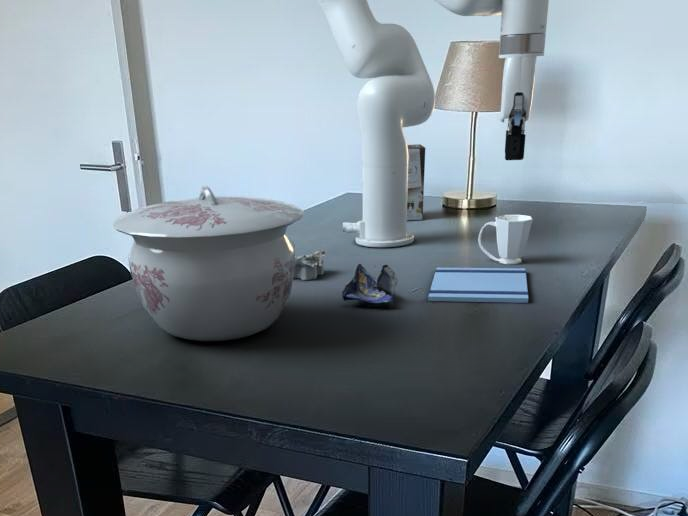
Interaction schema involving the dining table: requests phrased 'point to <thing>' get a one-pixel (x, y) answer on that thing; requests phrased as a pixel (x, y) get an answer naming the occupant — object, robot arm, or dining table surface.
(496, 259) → the cup
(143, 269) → the chamber pot
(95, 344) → the dining table surface
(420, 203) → the coffee box
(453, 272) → the towel
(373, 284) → the snack package
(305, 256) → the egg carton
